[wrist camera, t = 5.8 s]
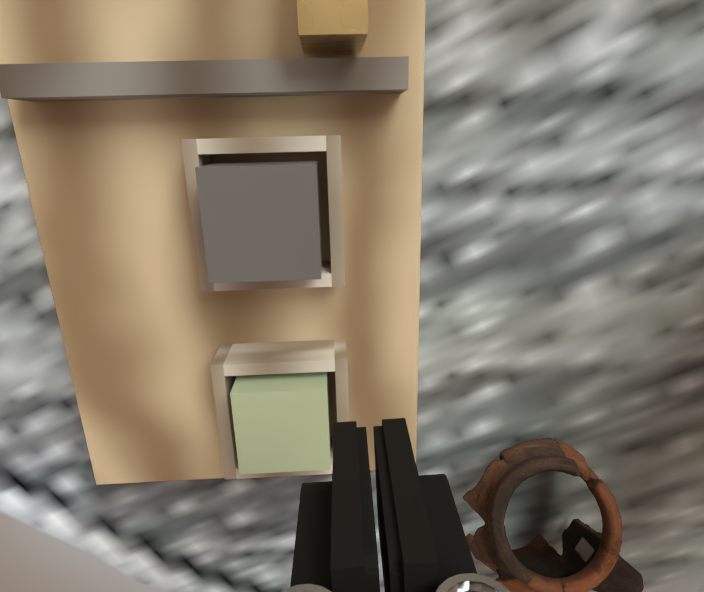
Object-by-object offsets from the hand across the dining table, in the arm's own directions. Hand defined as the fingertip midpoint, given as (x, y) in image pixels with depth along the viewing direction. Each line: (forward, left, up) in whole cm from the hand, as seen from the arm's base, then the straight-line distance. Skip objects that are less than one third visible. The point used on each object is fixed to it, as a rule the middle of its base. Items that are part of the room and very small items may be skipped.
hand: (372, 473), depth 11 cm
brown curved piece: (-12, +16, -17) cm, 26 cm away
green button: (+3, +6, -13) cm, 15 cm away
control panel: (+5, -4, -17) cm, 18 cm away
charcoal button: (+3, -4, -12) cm, 13 cm away
